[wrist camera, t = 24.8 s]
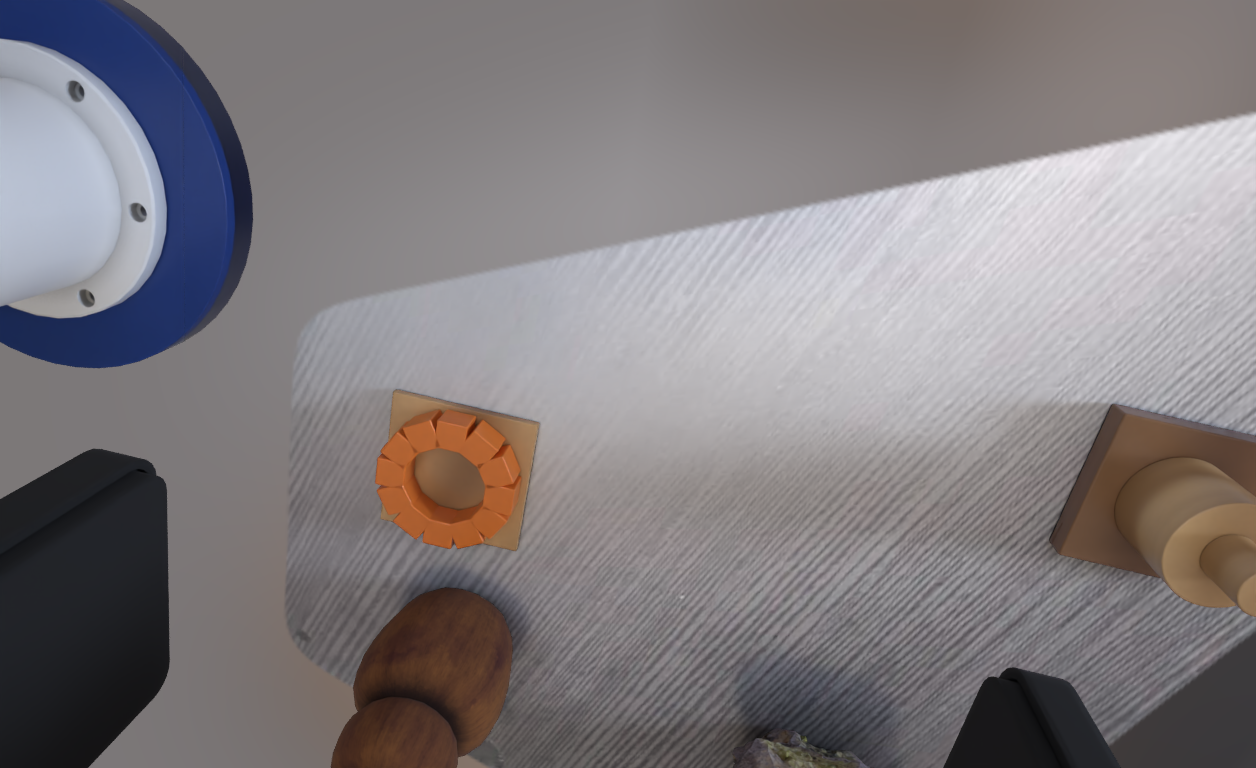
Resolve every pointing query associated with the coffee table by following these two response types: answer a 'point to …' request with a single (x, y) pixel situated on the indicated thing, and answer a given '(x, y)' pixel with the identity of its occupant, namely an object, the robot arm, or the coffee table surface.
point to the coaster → (466, 461)
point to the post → (1168, 506)
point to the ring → (422, 511)
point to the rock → (791, 753)
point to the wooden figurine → (429, 684)
